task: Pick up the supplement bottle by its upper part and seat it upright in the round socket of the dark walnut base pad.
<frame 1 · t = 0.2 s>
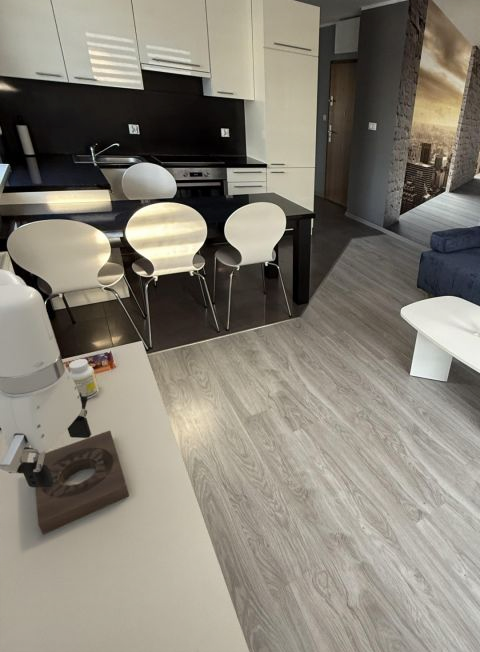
hand: (62, 459, 63), 20 cm above the table, tool pointing down, fingers open, 9 cm apart
socket pad: (82, 481, 82), on the table
supplement bottle: (87, 394, 105), on the table
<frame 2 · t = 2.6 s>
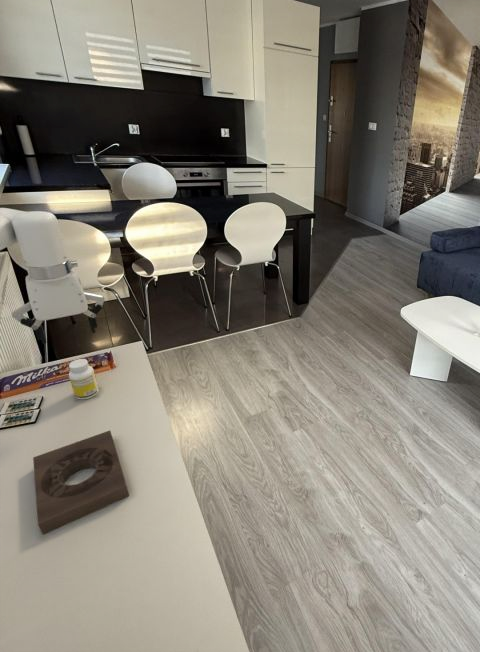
hand: (69, 335, 94), 19 cm above the table, tool pointing down, fingers open, 9 cm apart
nothing on the table moved.
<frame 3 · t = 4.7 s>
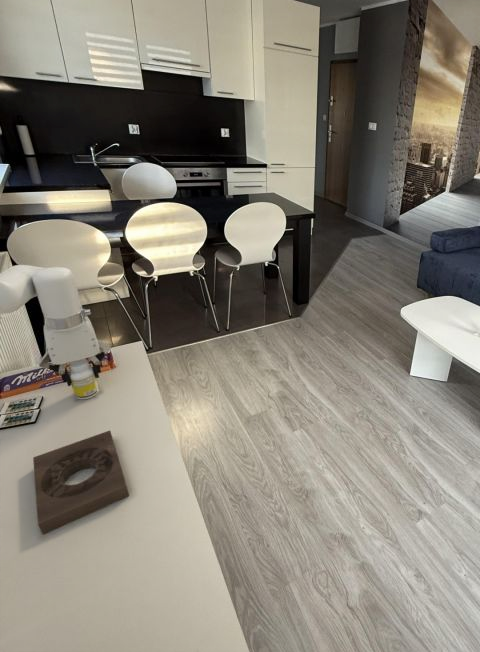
hand: (83, 378, 103), 5 cm above the table, tool pointing down, fingers closed on supplement bottle, 5 cm apart
supplement bottle: (87, 394, 105), on the table, touching gripper
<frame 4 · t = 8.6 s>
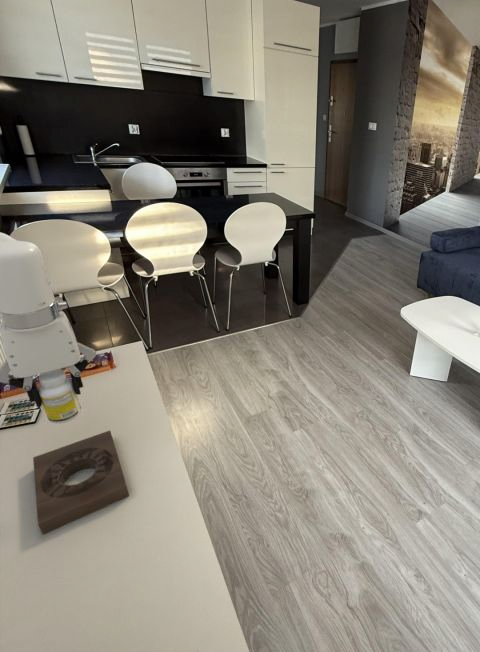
hand: (58, 395, 76), 20 cm above the table, tool pointing down, fingers closed on supplement bottle, 5 cm apart
supplement bottle: (65, 415, 78), point 14 cm above the table, touching gripper
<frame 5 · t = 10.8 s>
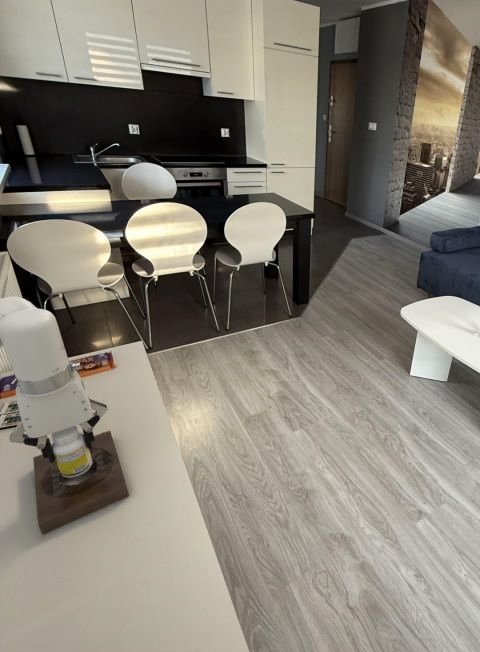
hand: (71, 450, 78), 9 cm above the table, tool pointing down, fingers closed on supplement bottle, 5 cm apart
supplement bottle: (77, 468, 80), point 4 cm above the table, touching gripper
when the fingers open (5 cm above the table, at t = 12.4 s): supplement bottle stays where it is, resting in socket pad.
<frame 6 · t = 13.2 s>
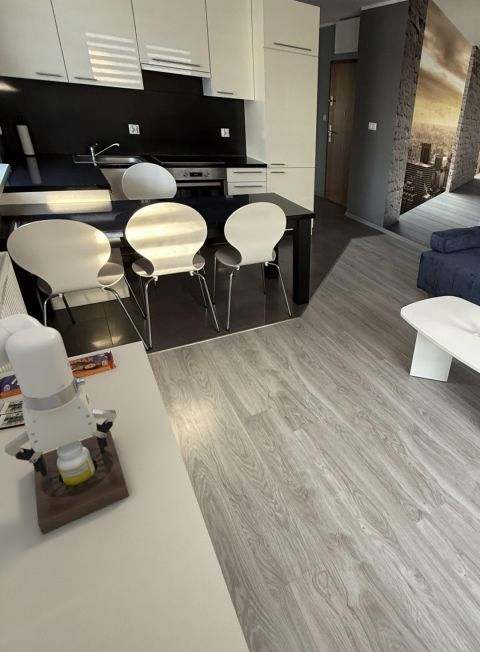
hand: (74, 459, 79), 6 cm above the table, tool pointing down, fingers open, 9 cm apart
supplement bottle: (81, 481, 82), resting in socket pad
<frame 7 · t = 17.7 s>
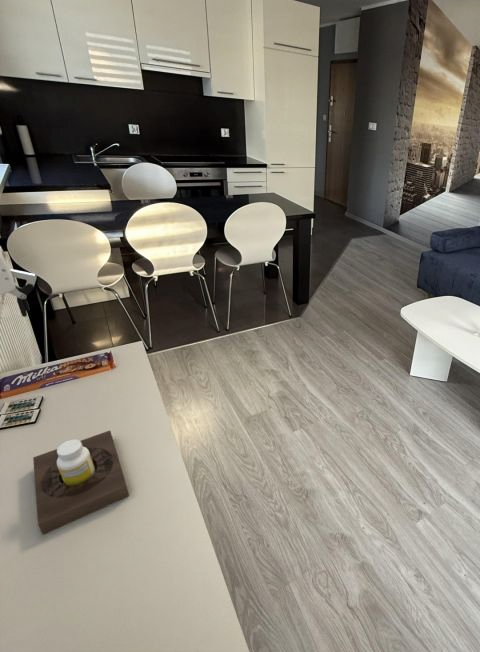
nothing on the table moved.
at the end: supplement bottle 0.1 cm off-centre in the socket pad, point 0.0 cm above the socket pad's base; supplement bottle tilted 0°; the gripper is holding nothing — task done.
